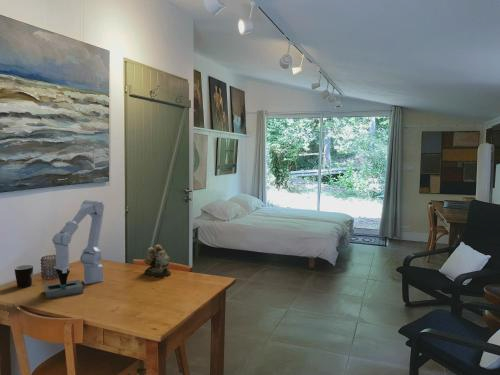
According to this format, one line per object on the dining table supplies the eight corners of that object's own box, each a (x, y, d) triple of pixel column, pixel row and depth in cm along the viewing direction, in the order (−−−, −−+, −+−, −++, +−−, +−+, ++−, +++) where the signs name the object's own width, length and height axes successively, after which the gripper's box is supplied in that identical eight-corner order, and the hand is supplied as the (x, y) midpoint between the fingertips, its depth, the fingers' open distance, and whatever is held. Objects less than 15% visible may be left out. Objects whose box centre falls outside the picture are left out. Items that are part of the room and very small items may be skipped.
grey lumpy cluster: (137, 274, 225) (137, 245, 224) (151, 269, 235) (150, 241, 234) (163, 278, 217) (163, 248, 216) (175, 273, 228) (175, 244, 227)
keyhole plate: (79, 286, 204) (79, 279, 203) (83, 292, 194) (83, 286, 193) (44, 291, 195) (44, 284, 195) (47, 299, 185) (47, 292, 185)
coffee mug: (25, 289, 198) (24, 270, 197) (10, 288, 200) (10, 269, 199) (41, 282, 209) (41, 264, 209) (28, 281, 211) (27, 263, 210)
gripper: (51, 254, 197) (52, 281, 198) (55, 261, 184) (56, 289, 186) (66, 253, 200) (67, 278, 201) (71, 259, 188) (72, 286, 189)
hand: (63, 283), depth 194 cm, fingers closed on peg, 2 cm apart
